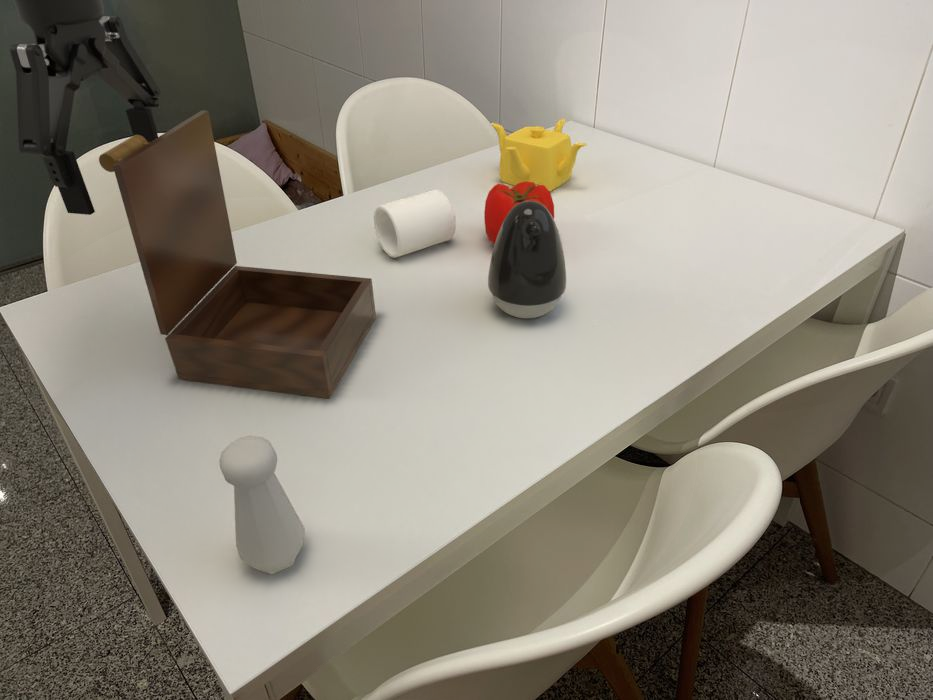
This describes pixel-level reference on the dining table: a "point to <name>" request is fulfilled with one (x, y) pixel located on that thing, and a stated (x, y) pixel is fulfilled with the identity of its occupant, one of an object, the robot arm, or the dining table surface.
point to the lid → (175, 214)
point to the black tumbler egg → (527, 262)
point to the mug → (414, 223)
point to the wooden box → (275, 331)
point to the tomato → (511, 203)
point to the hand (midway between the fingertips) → (120, 187)
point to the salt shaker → (261, 506)
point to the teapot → (536, 155)
